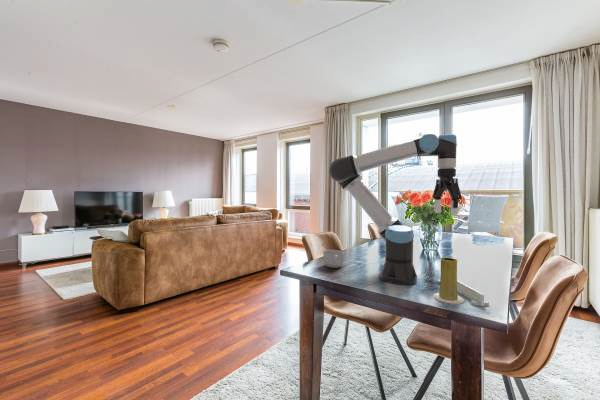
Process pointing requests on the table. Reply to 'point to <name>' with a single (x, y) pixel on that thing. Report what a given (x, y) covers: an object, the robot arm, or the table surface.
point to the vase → (448, 279)
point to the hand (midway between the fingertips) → (445, 214)
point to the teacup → (333, 258)
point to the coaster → (458, 301)
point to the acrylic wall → (471, 294)
